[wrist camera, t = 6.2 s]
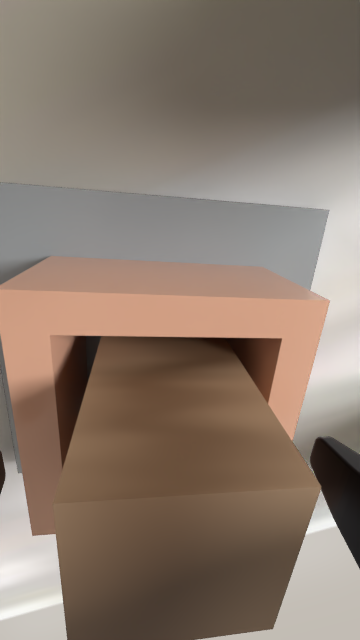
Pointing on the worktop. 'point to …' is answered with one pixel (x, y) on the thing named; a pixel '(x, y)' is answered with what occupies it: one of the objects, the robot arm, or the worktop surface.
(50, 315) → the terracotta well
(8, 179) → the worktop surface
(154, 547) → the walnut block
